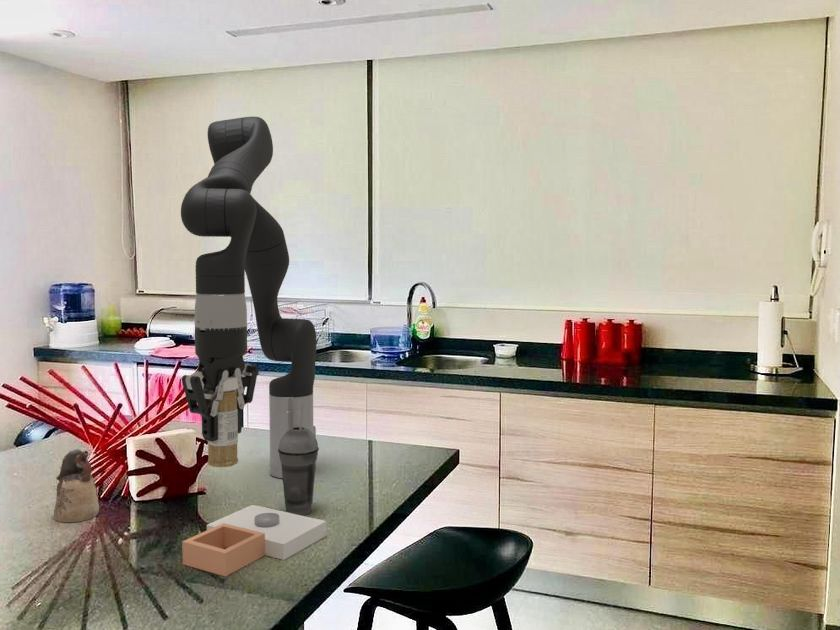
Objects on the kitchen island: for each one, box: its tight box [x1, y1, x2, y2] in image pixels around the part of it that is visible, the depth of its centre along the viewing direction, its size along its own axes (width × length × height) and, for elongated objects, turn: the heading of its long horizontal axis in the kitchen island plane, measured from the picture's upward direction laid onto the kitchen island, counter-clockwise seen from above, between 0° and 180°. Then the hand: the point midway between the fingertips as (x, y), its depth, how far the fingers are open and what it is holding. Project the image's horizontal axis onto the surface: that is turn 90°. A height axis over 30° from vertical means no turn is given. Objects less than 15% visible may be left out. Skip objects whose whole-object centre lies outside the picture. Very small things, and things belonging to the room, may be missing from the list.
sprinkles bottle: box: [207, 376, 239, 468], centre depth 107 cm, size 5×5×13 cm
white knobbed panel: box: [181, 504, 327, 577], centre depth 113 cm, size 20×16×4 cm
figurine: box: [53, 448, 100, 523], centre depth 126 cm, size 7×7×12 cm
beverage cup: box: [278, 404, 320, 516], centre depth 129 cm, size 7×7×20 cm
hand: (222, 436), depth 107 cm, fingers closed on sprinkles bottle, 4 cm apart
